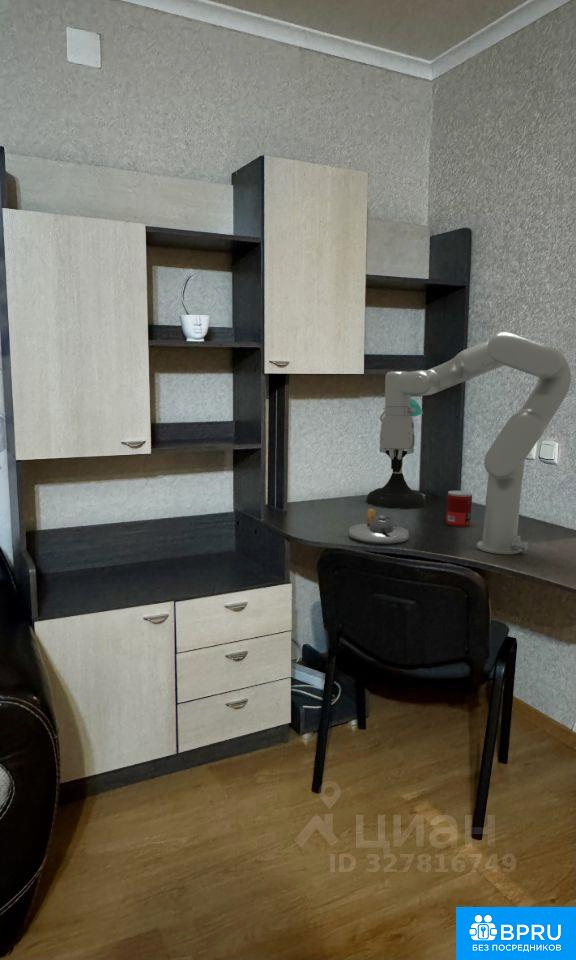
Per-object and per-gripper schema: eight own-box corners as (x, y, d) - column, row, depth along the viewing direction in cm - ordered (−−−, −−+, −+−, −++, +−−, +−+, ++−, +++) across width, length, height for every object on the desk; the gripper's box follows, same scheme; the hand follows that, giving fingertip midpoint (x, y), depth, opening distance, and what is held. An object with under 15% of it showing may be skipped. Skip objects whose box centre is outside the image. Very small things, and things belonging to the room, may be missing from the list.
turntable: (394, 528, 224) (395, 507, 223) (417, 542, 207) (419, 520, 205) (341, 529, 219) (342, 508, 218) (360, 544, 202) (361, 521, 201)
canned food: (470, 527, 231) (473, 495, 229) (446, 526, 232) (448, 493, 230) (469, 522, 238) (471, 491, 236) (445, 521, 240) (447, 489, 238)
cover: (388, 527, 217) (389, 513, 216) (396, 532, 210) (396, 518, 209) (366, 527, 215) (367, 513, 215) (374, 533, 209) (374, 518, 208)
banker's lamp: (421, 512, 253) (427, 402, 247) (359, 506, 260) (364, 399, 254) (430, 499, 278) (436, 399, 271) (373, 494, 285) (378, 396, 279)
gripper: (424, 411, 212) (422, 471, 215) (376, 411, 218) (375, 469, 221) (419, 413, 205) (418, 474, 208) (370, 412, 211) (369, 472, 214)
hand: (396, 471), depth 214 cm, fingers closed
